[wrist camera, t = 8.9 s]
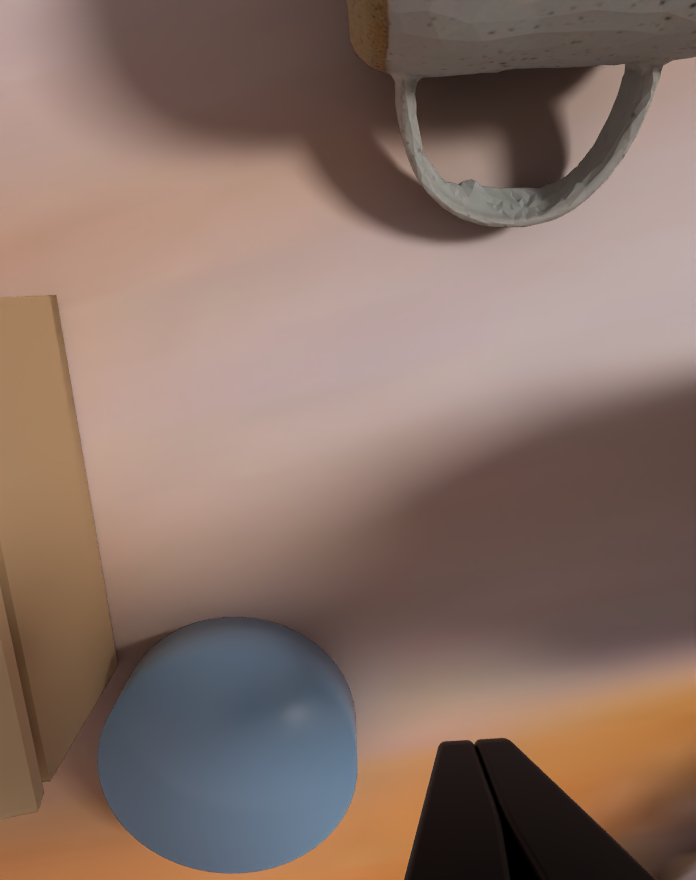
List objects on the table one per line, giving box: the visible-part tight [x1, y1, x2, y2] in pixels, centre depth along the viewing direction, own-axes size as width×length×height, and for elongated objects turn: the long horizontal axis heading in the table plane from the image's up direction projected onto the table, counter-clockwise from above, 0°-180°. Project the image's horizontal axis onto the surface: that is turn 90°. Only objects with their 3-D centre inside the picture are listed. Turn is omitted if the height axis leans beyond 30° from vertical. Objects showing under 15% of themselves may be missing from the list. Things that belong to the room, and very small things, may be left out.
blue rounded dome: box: [97, 617, 357, 873], centre depth 21 cm, size 8×8×2 cm
